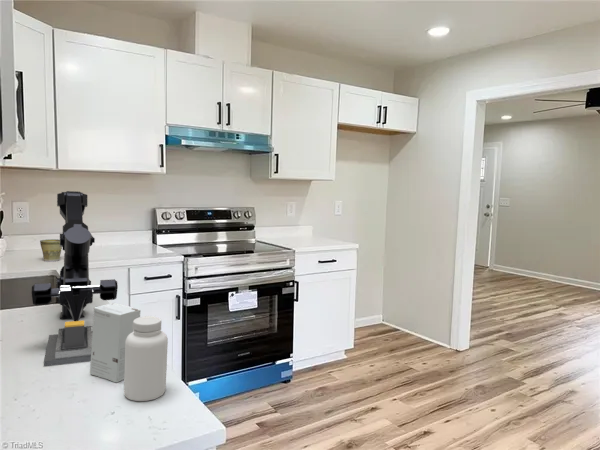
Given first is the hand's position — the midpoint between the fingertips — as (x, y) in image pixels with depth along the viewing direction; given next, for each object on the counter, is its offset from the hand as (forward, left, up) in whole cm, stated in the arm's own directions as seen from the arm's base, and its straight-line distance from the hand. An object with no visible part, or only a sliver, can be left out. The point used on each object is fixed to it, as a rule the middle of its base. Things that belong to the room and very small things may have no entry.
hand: (76, 321), depth 104 cm
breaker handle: (+2, 0, -7) cm, 7 cm away
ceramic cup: (-133, -11, -8) cm, 133 cm away
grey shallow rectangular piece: (-4, 0, -8) cm, 9 cm away
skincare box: (+14, +8, -8) cm, 18 cm away
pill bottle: (+25, +13, -8) cm, 29 cm away
